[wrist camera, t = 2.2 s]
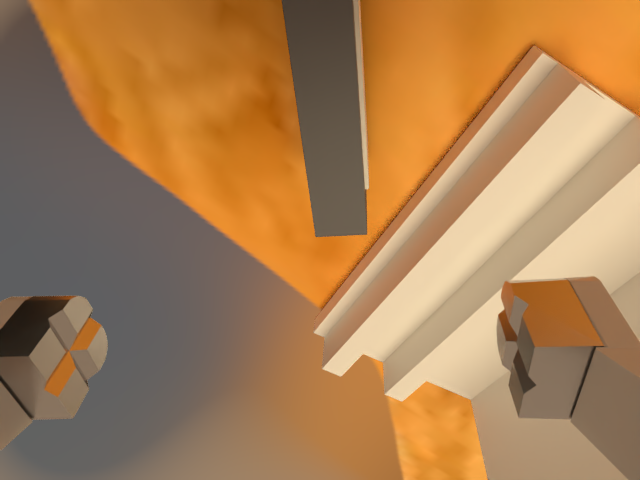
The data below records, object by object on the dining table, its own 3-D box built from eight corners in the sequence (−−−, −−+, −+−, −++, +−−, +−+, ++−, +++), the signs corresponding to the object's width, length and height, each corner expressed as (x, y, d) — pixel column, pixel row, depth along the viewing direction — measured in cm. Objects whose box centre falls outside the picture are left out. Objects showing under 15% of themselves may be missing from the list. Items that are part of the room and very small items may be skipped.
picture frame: (289, -119, 21) (258, -122, 15) (353, -128, 21) (349, -135, 14) (322, 161, 29) (311, 237, 23) (368, 158, 29) (370, 234, 23)
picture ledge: (533, 44, 24) (766, 254, 10) (749, 191, 28) (1128, 485, 14) (315, 318, 38) (287, 572, 24) (483, 391, 42) (545, 646, 28)
